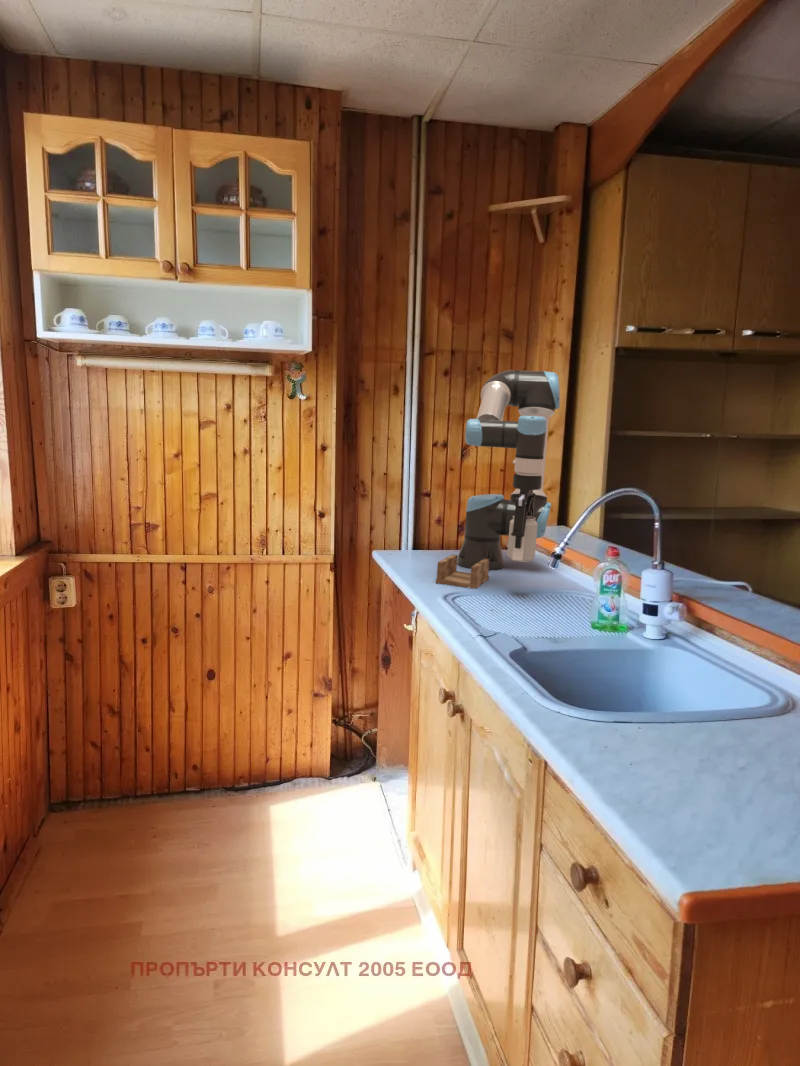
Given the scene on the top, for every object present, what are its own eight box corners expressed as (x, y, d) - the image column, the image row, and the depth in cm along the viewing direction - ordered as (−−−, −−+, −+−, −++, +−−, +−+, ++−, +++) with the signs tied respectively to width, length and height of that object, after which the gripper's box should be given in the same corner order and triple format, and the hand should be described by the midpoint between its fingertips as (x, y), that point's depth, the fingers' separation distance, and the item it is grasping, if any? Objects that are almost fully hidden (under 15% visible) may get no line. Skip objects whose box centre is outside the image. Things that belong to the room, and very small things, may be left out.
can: (533, 557, 202) (537, 515, 199) (535, 563, 194) (539, 519, 192) (506, 555, 202) (509, 513, 200) (507, 561, 195) (511, 517, 193)
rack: (450, 574, 221) (452, 554, 220) (488, 579, 217) (490, 559, 216) (435, 583, 208) (437, 562, 207) (475, 588, 204) (477, 567, 203)
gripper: (522, 469, 205) (515, 548, 209) (505, 475, 186) (498, 562, 190) (548, 472, 202) (541, 551, 206) (533, 478, 183) (526, 566, 188)
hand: (520, 556), depth 198 cm, fingers closed on can, 7 cm apart
